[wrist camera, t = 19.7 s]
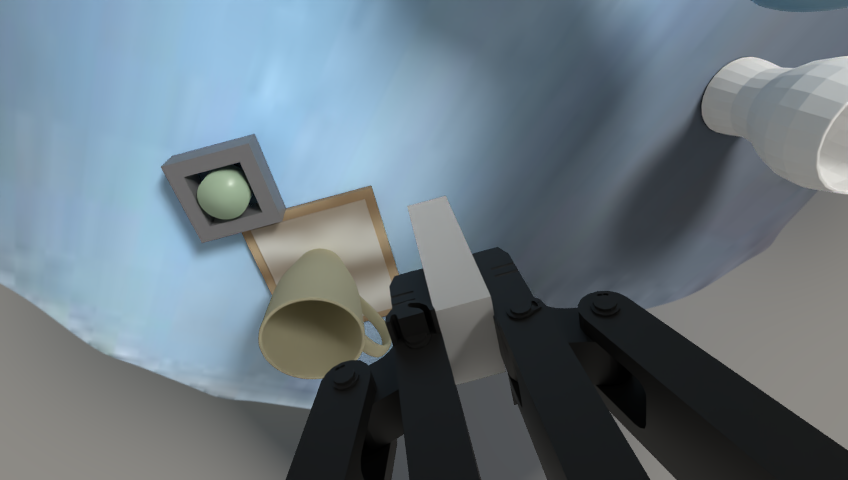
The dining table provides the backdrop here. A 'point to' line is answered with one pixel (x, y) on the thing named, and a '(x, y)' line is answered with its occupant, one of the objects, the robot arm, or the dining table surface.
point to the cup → (787, 117)
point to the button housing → (242, 150)
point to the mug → (318, 319)
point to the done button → (225, 192)
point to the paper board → (331, 243)
